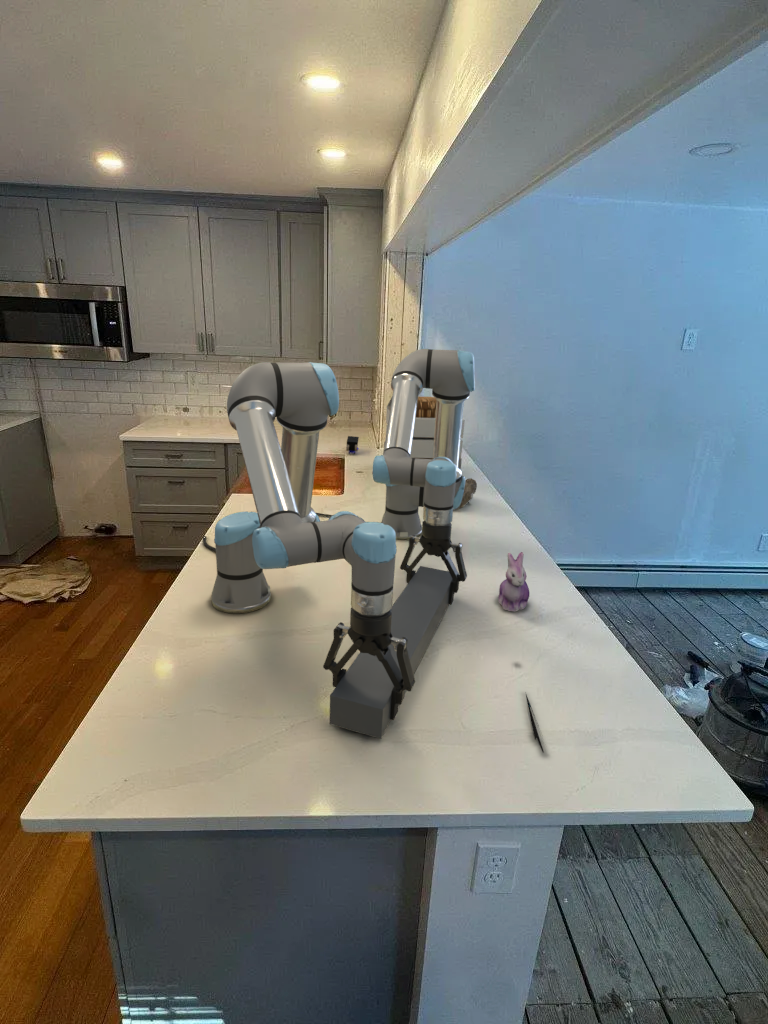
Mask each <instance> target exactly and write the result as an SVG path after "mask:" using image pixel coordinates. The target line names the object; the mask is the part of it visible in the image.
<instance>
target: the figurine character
mask: <svg viewBox="0 0 768 1024" xmlns="http://www.w3.org/2000/svg"><path fill="white" fill-rule="evenodd" d="M359 438H360V437H359V436H353V435H348V436H347V439H346V446H345V447H346V449H345V451H346V452H348V455H351V454H352V453H353V455H356V452H358V450H359V447H358V445H359V440H360V439H359Z"/></svg>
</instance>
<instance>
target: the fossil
mask: <svg viewBox="0 0 768 1024" xmlns="http://www.w3.org/2000/svg"><path fill="white" fill-rule="evenodd" d="M477 487H478V483H477V480H476V479H474V478H472V477H471V478H466V479H465V487H464V493H463V497H462V501H461V504H460V506H459V507H458V508H457V509H453V511H456V510H459V509H462V508H464V507H465V506H466V505H467V504H470V501H471V500H472V499H473V496H474V495H475V494H476V491H477Z"/></svg>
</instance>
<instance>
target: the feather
mask: <svg viewBox="0 0 768 1024" xmlns="http://www.w3.org/2000/svg"><path fill="white" fill-rule="evenodd" d="M525 697H526V698H525V699H526V703H527V708H528V714H529V719H530V723H531V728H532V733H533V738H534V740H537V742H538V744H539V746H540V749H541V751H542V753H545V751H544V749H543V746H542V741H541V739H543V737H544V736H543V734H541V735H542V736H539V733H542V730H541V729H539V731H538V728H539V727H540V725H539V723H538V721H537V719H536V716H535V713H534V711H533V708H532V705H531V703H530V700H529V697H528V694H527V692H526V691H525ZM536 725H537V726H536ZM540 737H541V739H540ZM544 744H545V743H544ZM544 746H547V745H546V744H545V745H544Z"/></svg>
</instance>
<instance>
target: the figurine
mask: <svg viewBox="0 0 768 1024" xmlns="http://www.w3.org/2000/svg"><path fill="white" fill-rule="evenodd" d="M506 556H507V569H506V571H505V579H504V580H502V581H501V583H500V585H499V591H498V592H499V593H498V597H497V598H498V600H497V601H498V604H499V605H500V606H501V607H502V609H503V610H505V611H507V612H508V611H509V612H518V611H520V610H521V611H522V610H524V609H525V608H526V607H527V605H528V601H529V599H530V588H529V585H528V584H527V581H526V580H527V571H526V570H525V567H524V552H523V551H520V552H519V553H518V555H517V557H516V559H515V557H514V556H513V554H512V553H511V552H508V553H507V555H506Z"/></svg>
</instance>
